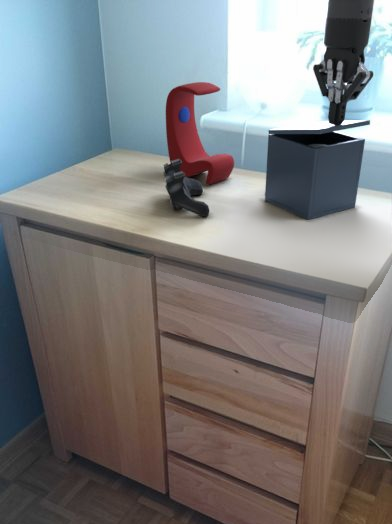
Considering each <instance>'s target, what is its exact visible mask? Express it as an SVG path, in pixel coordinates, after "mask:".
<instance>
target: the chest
mask: <svg viewBox="0 0 392 524" xmlns="http://www.w3.org/2000/svg"><path fill="white" fill-rule="evenodd" d="M267 137H268V139H267V152H266V153H267V154H266V171H265V189H264V190H265V191H264V192H265V193H264V201H266V202H268V203H270V204H272V205H275V206H277V207H279V208H281V209H284V210H286V211H288V212H290V213H292V214H293V215H296V216H298V217H301V218H303V219H305V220H312V219H317V218H320V217H323V216H327V215H330V214H335V213H338V212H341V211H345V210H349V209H354V208H355V207H356V204H357V197H358V190H359V182H360V177H361V169H362V162H363V156H364V150H365V143H366V139H365V138H362V137H358V136H355V135H351V134H347V133H344V132H340V131H333V132H328V133H322V134H269V133H268V135H267ZM311 144H324V145H327V146H322V147H317V148H315V147H311V146H308V145H311Z"/></svg>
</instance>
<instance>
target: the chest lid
mask: <svg viewBox="0 0 392 524" xmlns="http://www.w3.org/2000/svg"><path fill="white" fill-rule="evenodd" d="M370 125H371V120H370V119H362V120H360V119H358V120H355V119H354V120H344V121H343V123H342V124H340V125H333V124H329V120H323V121H319V120H318V121H312V122H307V123H300V124H294V125H288V126H282V127H276V128H272V129H268V135H269V134H322V133H328V132H333V131H337V132H340V131H343V130H348V129H354V128H361V127H365V126H370Z"/></svg>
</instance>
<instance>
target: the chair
mask: <svg viewBox="0 0 392 524" xmlns="http://www.w3.org/2000/svg"><path fill="white" fill-rule="evenodd" d="M220 91H221V88H220V86H218V85H216V84H213V83H211V82H206V81H205V82H204V81H197V82H191V83H186V84H181V85H178V86H175V87H173V88H172V89H171V90H170V91H169V92H168V94H167V96H166V100H165V101H166V102H165V132H166V143H167V145H166V146H167V152H168V158H169V162H170V163H172V162H171V161H173V160H176V159H180V160H182V164H181V166H180V172H181V171H182V172H183V173H185V177H187V178H191V177H194V176H197V175H200V174H203V173H205V172H207V174H206V178H205V185H207V186H211V185H213V184H217V183H219V182H222V181H224V180H226V179H228V178H229V177H230V176H231V174H232V172H233V171H234V167H235V160H234V156H232V155H231V154H228V153H218V154H217V153H216V154H212V155H210V154H208V153H207V152H206V150H205V148H204V146H203V144H202V141H201V138H200V135H199V131H198V128H197V122H196V113H195V96H206V95H211V94H214V93H217V92H220ZM170 163H169V164H170Z"/></svg>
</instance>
